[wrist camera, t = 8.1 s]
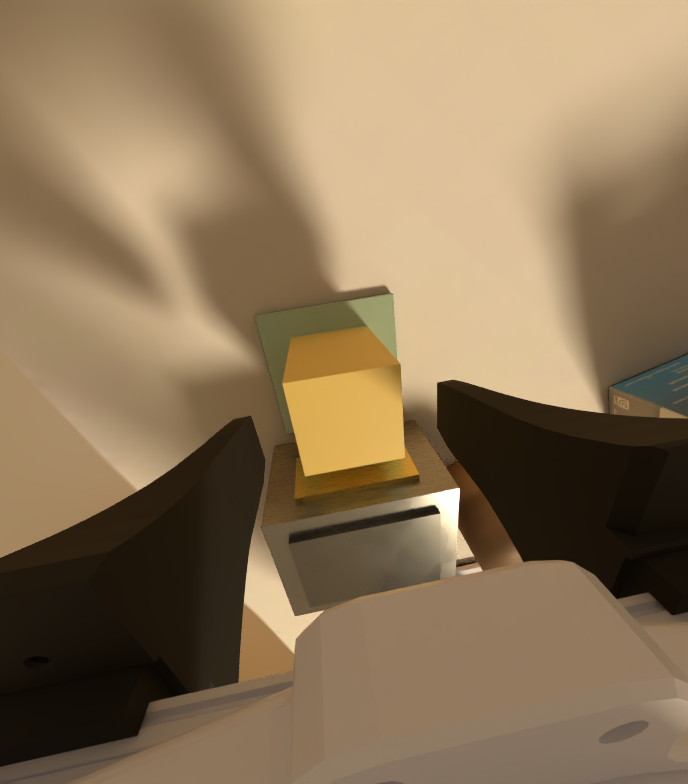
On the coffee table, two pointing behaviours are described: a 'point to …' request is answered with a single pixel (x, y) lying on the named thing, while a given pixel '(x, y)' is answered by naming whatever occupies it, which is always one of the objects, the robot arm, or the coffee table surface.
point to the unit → (361, 525)
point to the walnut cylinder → (481, 524)
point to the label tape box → (654, 392)
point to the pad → (318, 320)
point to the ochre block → (344, 400)
